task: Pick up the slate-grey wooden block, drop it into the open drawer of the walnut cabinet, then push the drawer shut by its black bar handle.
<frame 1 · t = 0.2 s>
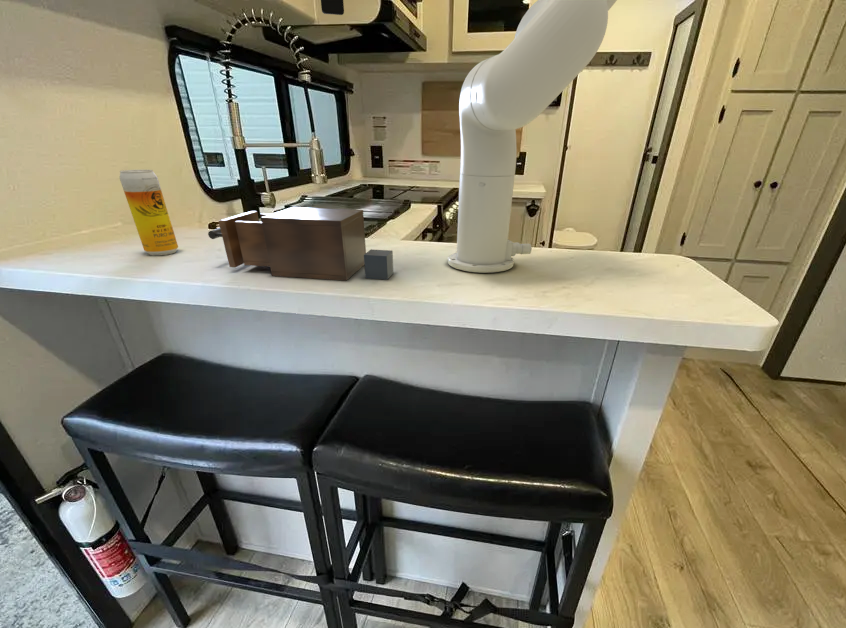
hand: (333, 5, 56), 36 cm above the countertop, tool pointing down, fingers open, 9 cm apart
block: (379, 275, 73), on the countertop
beer can: (163, 253, 85), on the countertop
cabinet: (321, 269, 76), on the countertop
drawer: (261, 239, 75), point 5 cm above the countertop, slide at 7.0 cm
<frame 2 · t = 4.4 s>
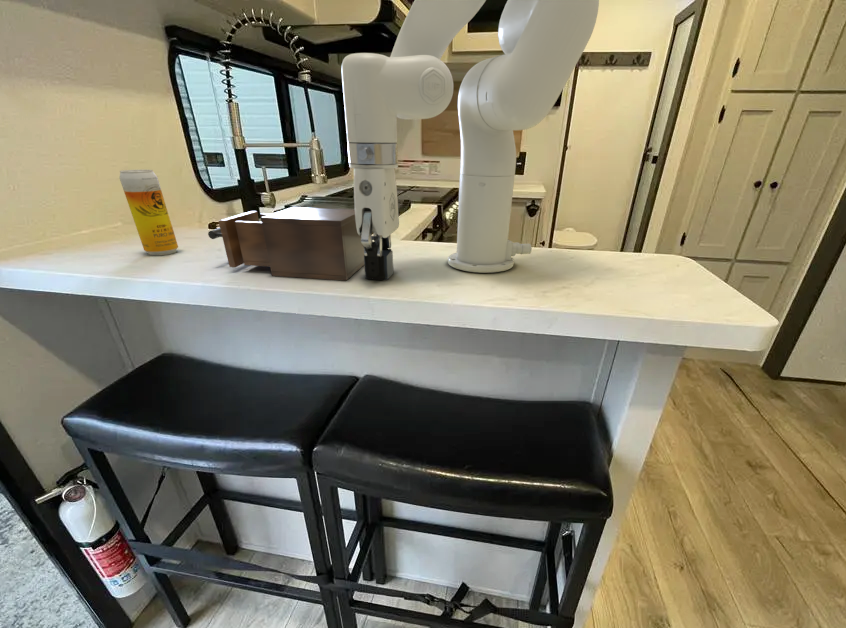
hand: (379, 274, 73), 0 cm above the countertop, tool pointing down, fingers closed on block, 4 cm apart
block: (379, 275, 73), on the countertop, touching gripper
everything else where it was.
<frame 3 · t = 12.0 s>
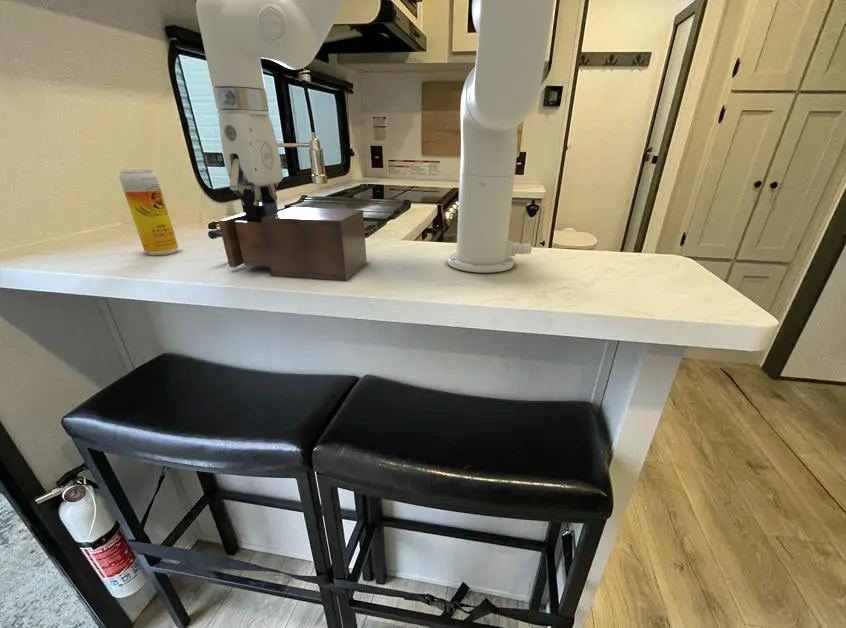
hand: (264, 226, 74), 7 cm above the countertop, tool pointing down, fingers closed on block, 4 cm apart
block: (264, 228, 74), point 7 cm above the countertop, touching gripper
everything else where it was.
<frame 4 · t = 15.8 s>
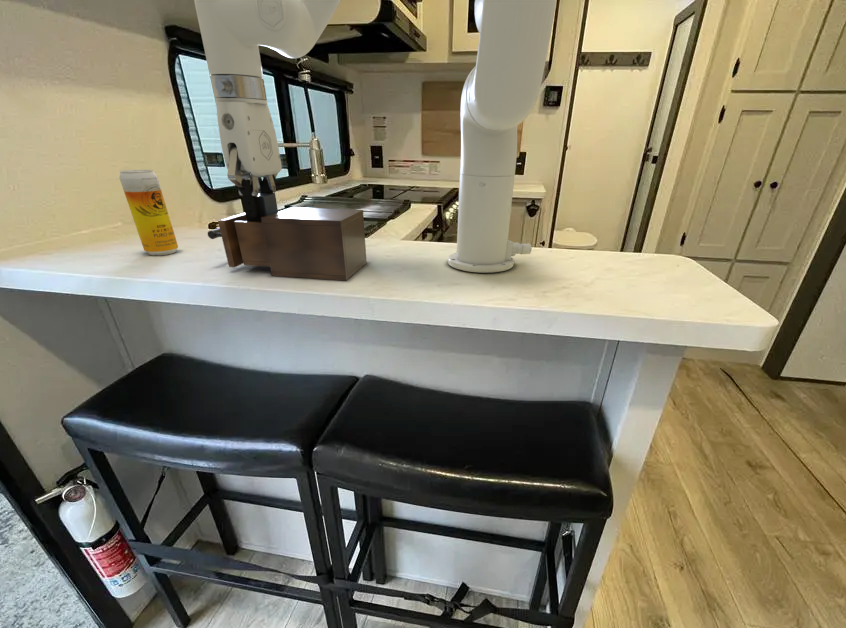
hand: (263, 217, 73), 8 cm above the countertop, tool pointing down, fingers closed on block, 4 cm apart
block: (263, 219, 73), point 8 cm above the countertop, touching gripper
everything else where it was.
when the fingers open (10 cm above the countertop, at t = 19.5 s): block drops 7 cm, resting on drawer.
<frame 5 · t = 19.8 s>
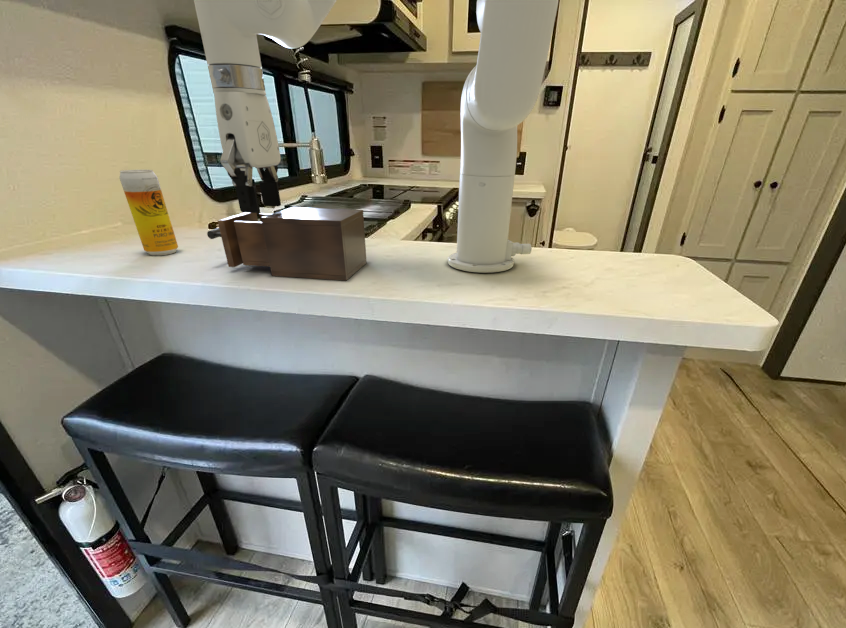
hand: (261, 208, 72), 10 cm above the countertop, tool pointing down, fingers open, 6 cm apart
block: (270, 255, 76), point 2 cm above the countertop, touching drawer
drawer: (260, 239, 75), point 5 cm above the countertop, slide at 7.2 cm, touching block
everything else where it was.
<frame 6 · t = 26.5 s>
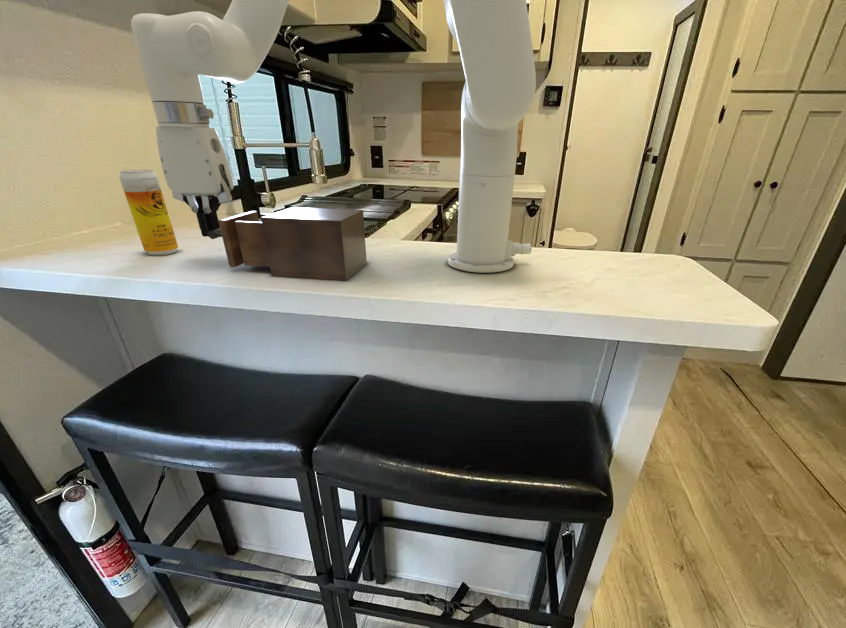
hand: (211, 235, 76), 5 cm above the countertop, tool pointing down, fingers closed
drawer: (261, 239, 75), point 5 cm above the countertop, slide at 7.0 cm, touching block, gripper
everything else where it was.
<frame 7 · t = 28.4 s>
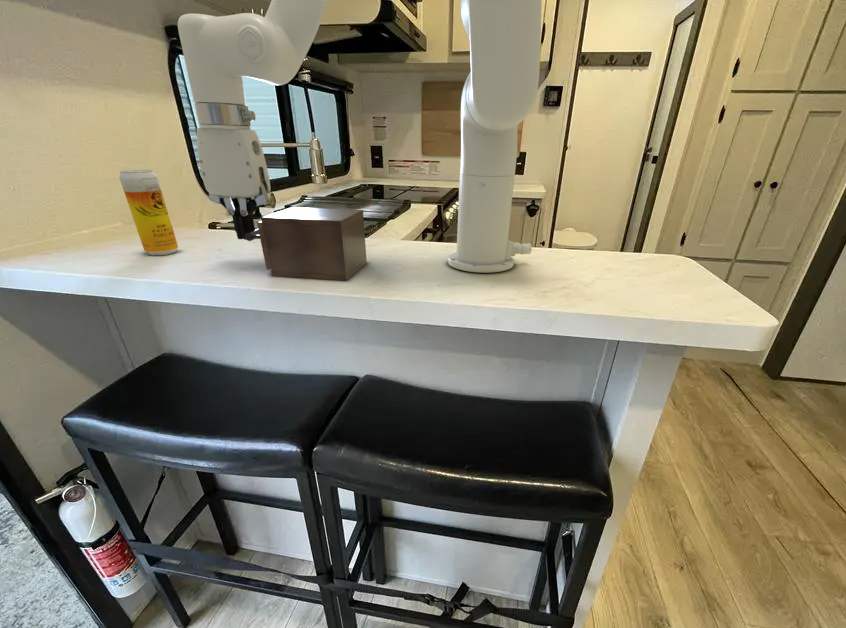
hand: (246, 237, 75), 5 cm above the countertop, tool pointing down, fingers closed
block: (306, 257, 75), point 2 cm above the countertop, touching drawer
drawer: (298, 241, 74), point 5 cm above the countertop, slide at 0.0 cm, touching block, cabinet, gripper
everything else where it was.
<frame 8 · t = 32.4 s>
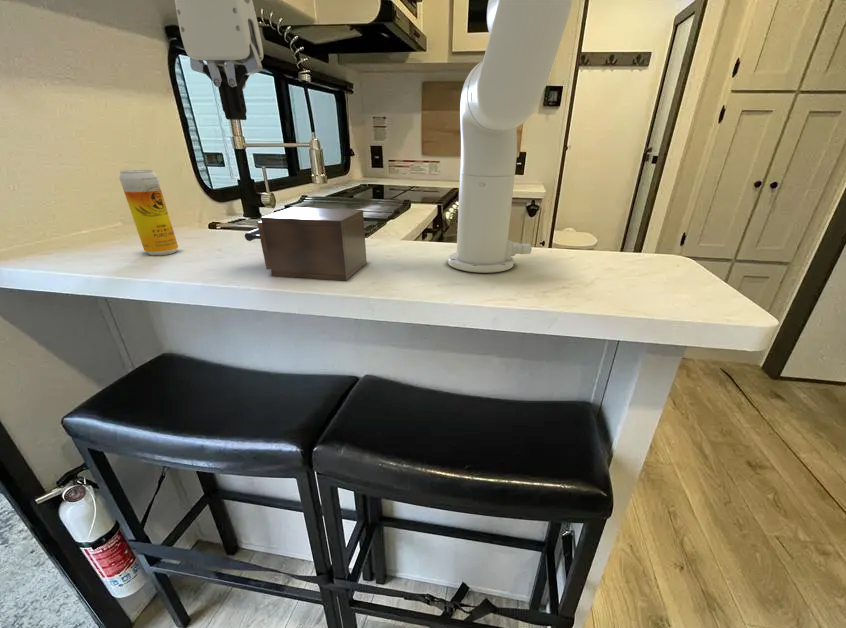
hand: (236, 119, 64), 23 cm above the countertop, tool pointing down, fingers closed
drawer: (298, 241, 74), point 5 cm above the countertop, slide at 0.0 cm, touching block, cabinet
everything else where it was.
at the end: drawer slide at 0.0 cm; block inside the target area in the cabinet (2.6 cm from its centre), point 2.0 cm above the cabinet's base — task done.
